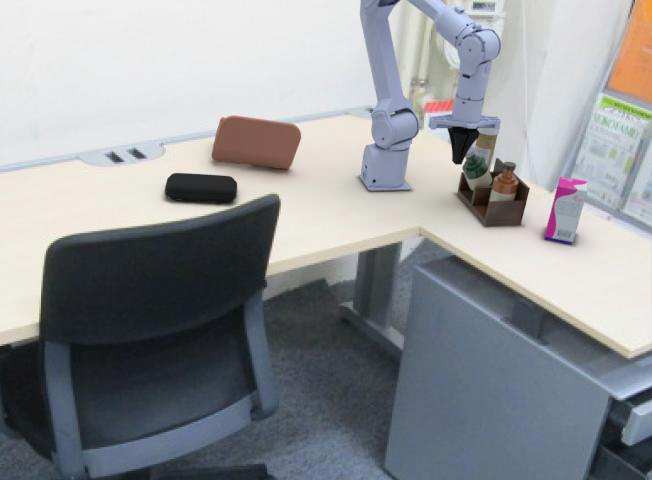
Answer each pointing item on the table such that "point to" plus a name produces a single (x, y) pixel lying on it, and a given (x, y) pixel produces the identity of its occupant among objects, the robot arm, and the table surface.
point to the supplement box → (566, 210)
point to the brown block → (256, 142)
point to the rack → (497, 210)
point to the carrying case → (201, 187)
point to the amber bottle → (504, 184)
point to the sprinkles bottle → (486, 144)
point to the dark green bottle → (476, 170)
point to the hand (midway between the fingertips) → (456, 162)
